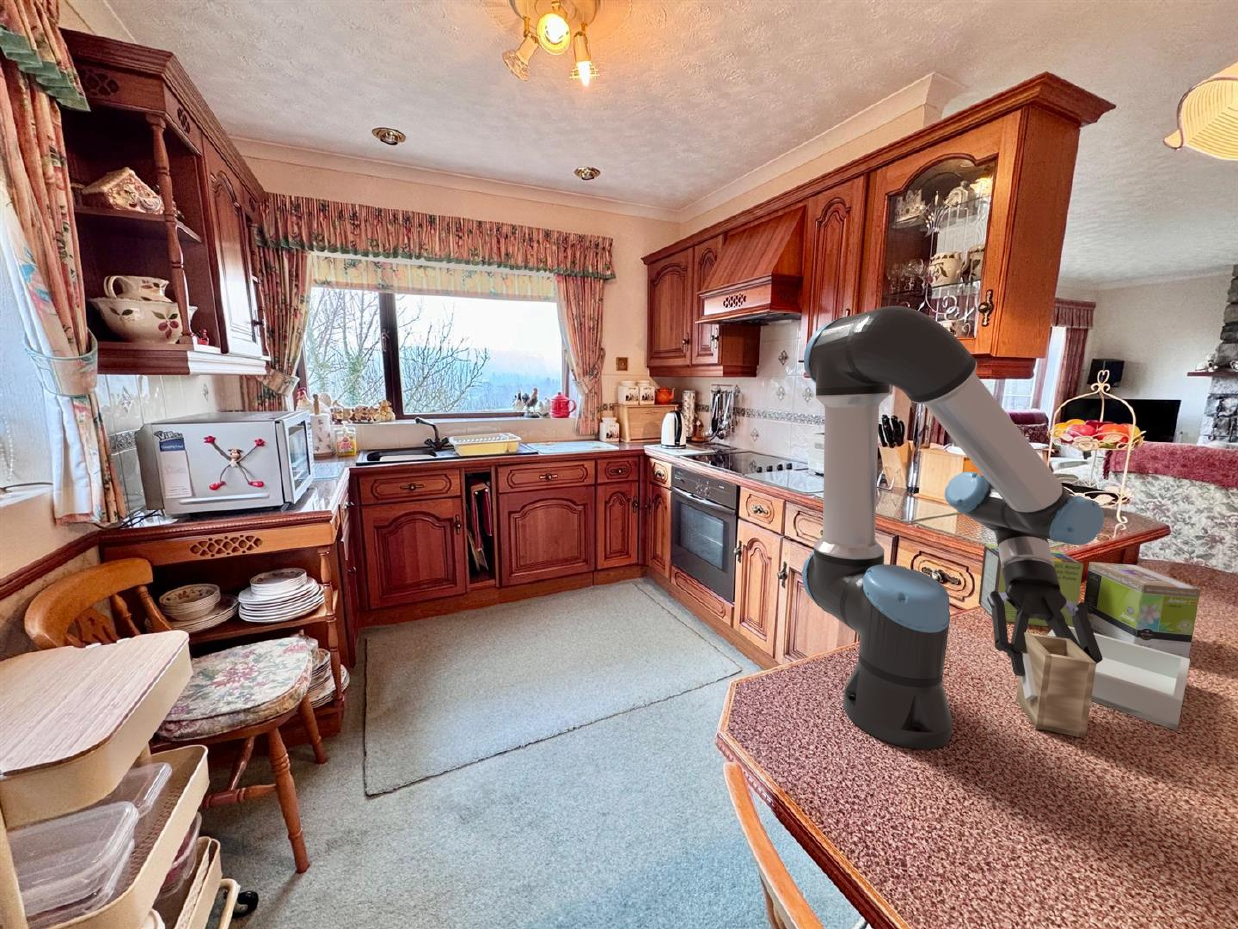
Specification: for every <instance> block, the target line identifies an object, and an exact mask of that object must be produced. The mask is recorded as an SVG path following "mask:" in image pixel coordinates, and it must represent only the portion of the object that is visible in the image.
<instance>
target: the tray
mask: <svg viewBox="0 0 1238 929" xmlns="http://www.w3.org/2000/svg"><path fill="white" fill-rule="evenodd" d="M1068 627H1069V628H1070V630H1071V631H1072V633H1073V635H1074V636H1075V638H1076V639H1077V641H1078V643H1079V640H1078V637H1077V634H1076V631H1075V628H1074V627H1070V626H1068ZM1093 633H1094V636H1095V638H1096V641H1097V644H1098V647H1099V649H1100V652H1101V655H1102V658H1103V660H1102V661H1101V662H1099V663H1098V664H1096V670H1095V677H1094V684H1093V691H1092V697H1091V701H1092V703H1096V704H1099V705H1102V706H1105V707H1107V708H1110V709H1113V710H1116V711H1119V712H1121V713H1124V714H1128V715H1130V716H1133V717H1136V718H1138V719H1142V720H1144V721H1147V722H1151V723H1153V724H1156V725H1158V726H1161V727H1163V728H1167V729H1169V730H1173V731H1176V732H1178V730H1179V723H1180V718H1181V711H1182V707H1183V704H1184V703H1183V701H1184V697H1185V691H1186V687H1187V679H1188V675H1189V669H1190V662H1191V658H1189V657H1188V658H1185V657H1181V656H1177V655H1174V654H1170V653H1166V652H1162V651H1159V650H1155V649H1151V648H1148V647H1144V646H1140V645H1137V644H1133V643H1129V642H1126V641H1122V640H1118V639H1114V638H1111V637H1107V636H1104V635H1103V634H1101V633H1095V632H1093ZM1046 636H1053V637H1057V636H1056V635H1055V633H1054V632H1053V630H1052V629H1051V630H1050V631H1049V632H1048V633H1047V634H1046ZM1079 644H1080V643H1079Z"/></svg>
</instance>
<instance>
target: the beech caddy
mask: <svg viewBox="0 0 1238 929" xmlns="http://www.w3.org/2000/svg"><path fill="white" fill-rule="evenodd" d="M1024 635H1025V641H1024V646H1023V650H1022V654H1023V653H1026V654H1029V658H1030V662H1031V667H1032V672H1033V677H1034V682H1035V687H1036V692H1037V696H1036V697H1035V698H1034V699H1032V700H1026V699H1025V696H1024V691H1023V686H1022V680H1021V676H1018V682H1017V689H1016V690H1017V691H1016V698H1015V700H1016V701H1017V703H1018V704H1019V705H1020V707H1021V708H1022V710H1023V711H1024V713H1025V714H1026V716H1027V717H1028V718H1029V720H1030V721H1031V723H1032V724H1033V726H1034V728H1035V729H1039V730H1044V731H1048V732H1054V733H1059V734H1064V735H1067V736H1073V737H1078V738H1082V739H1086V736H1087V731H1088V726H1089V724H1088V723H1089V717H1090V711H1091V708H1090V704H1091V697H1092V691H1093V684H1094V677H1095V670H1096V662H1095V661H1093V660H1092V659H1091V658H1090V657H1089V656H1088V655H1087V654H1086V653H1085V652H1084V651H1083V650H1081V649H1080V648H1079V647H1078V646H1077V645H1076V644H1075V643H1074V642H1073V641H1072V640H1071V639H1067V638H1060V637H1053V636H1047V634H1045V635H1044V634H1038V633H1033V632H1027V631H1026V632H1024Z"/></svg>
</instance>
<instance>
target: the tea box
mask: <svg viewBox="0 0 1238 929" xmlns="http://www.w3.org/2000/svg"><path fill="white" fill-rule="evenodd" d="M1088 562H1089V561H1088ZM1087 570H1088V571H1087V576H1086V584H1085V590H1084V597H1083V602H1084V603H1086V604H1087V605H1088V612H1087V617H1088V619H1089V622H1090V625H1091V628H1092V630H1094V631H1096V632H1098V634H1100V635H1103V636H1107V637H1111V638H1114V639H1118V640H1122V641H1126V642H1129V643H1133V644H1137V645H1140V646H1144V647H1148V648H1151V649H1155V650H1159V651H1162V652H1166V653H1170V654H1174V655H1177V656H1181V657H1185V658H1188V659H1189V656H1190V652H1191V647H1192V643H1193V636H1194V631H1195V626H1196V625H1195V624H1196V619H1197V614H1198V606H1199V602H1200V595H1201V588H1200V587H1197V586H1195V585H1192V584H1189V583H1187V582H1183V581H1181V580H1179V579H1175V578H1173V577H1171V576H1168V575H1165V574H1163V573H1160V572H1157V571H1155V570H1151V569H1149V568H1145V567H1143V566H1141V565H1138V564H1137V565H1135V564H1124V563H1123V564H1122V563H1112V562H1111V563H1110V562H1096V561H1090V562H1089V563H1088V568H1087Z"/></svg>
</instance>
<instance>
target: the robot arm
mask: <svg viewBox="0 0 1238 929" xmlns="http://www.w3.org/2000/svg"><path fill="white" fill-rule="evenodd" d="M805 346H806V347H805V349H804V355H803V365H804V369H805V372H806V374H807V376H809V378H810V379H811V380H812V381H813V382H814V383H815V398H816V399H817V400H818V401H819V402H820V403H821V404H822V405H823V406H824V431H823V432H824V438H823V439H824V440H823V441H824V443H823V444H824V447H823V449H824V450H823V498H822V501H823V502H822V503H823V508H822V514H823V515H822V536H821V537H820V538H819V539H817V540H816V541H815V542H814V544H813V551H812V552H810V554H808V555H809V558H806V559H805V561H804V563H803V566H802V572H801V579H802V585H803V588H804V590H805V593H806V594H807V596H808V597H809V598H810V599H811V600H812V601H813V602H814V603H815V604H816V605H817V606H818V607H819V608H821V609H822V610H823V611H824V612H825V613H827V614H828V615H831V616H833V617H834V618H836V619H837V620H839V622H841V623H843V624H844V625H845V626H847V627H848V628H850V629H851V630H852V631H854V632H856V634H858V635H859V643H858V644H859V646H858V659H857V663H856V665H855V667H854V669H853V672H852V673H851V675H850V677H849V680H848V682H847V684H846V685H845V688H844V690H843V700H842V701H843V702H842V705H843V709H844V712H845V713H846V716H848V719H850V720H851V722H853V723H854V724H855V725H856V726H858V727H859V728H860V729H862V730H863V732H866V733H867V734H870V735H871V736H873V737H875V738H877V739H879V740H882V741H884V742H887V743H889V744H892V745H896V746H898V747H903V748H908V749H916V750H933V749H937V748H941V747H943V746H945V745H947V744H948V743H949V742H950V740H951V738H952V732H953V722H954V721H953V717H952V713H951V708H950V707H949V706H950V705H949V703H948V699H947V695H946V692H945V687H944V685H943V684H944V683H943V680H944V670H945V662H946V653H947V644H948V636H949V629H950V622H951V611H950V601H951V600H950V596H949V593H948V591H947V589H946V588H945V586H944V585H943V584H942V583H941V582H939V581H938V580H937V579H935V578H933V576H930V575H928V574H927V573H924V572H922V571H920V570H917V569H914V568H913V569H909V568H907V566H903V565H896V564H887V563H886V564H885V548H884V547H883V546H882V545H881V544H880V543H879V542H878V541H877V540H876V523H877V522H876V519H877V518H876V516H877V515H876V514H877V484H878V483H877V482H878V481H877V480H878V457H879V456H878V453H879V452H878V448H879V445H878V444H879V424H880V423H879V421H880V420H879V417H880V416H879V415H880V405H881V403H883V402H884V400H885V399H887V398H888V397H889V396H890V394H891V392H890V391H891V386H893V387H894V388H898V389H899V390H900V391H902V392H903V393H904V394H905V395H906V397H907V398H908V399H909V400H910V401H911V402H912V403H914V404H919V405H922V404H923V405H924V407H925V408H926V409H927V410H928V411H929V413H930V414H931V415H932V416H933V417H934V418H935V419H936V421H937V422H938V423H939V425H941V427H942V428H943V429H944V430H945V431H946V433H947V435H948V436H950V437H951V439H952V440H953V441H954V442H955V444H956V445H957V446H958V447H959V448H960V449H961V451H962V452H963V453H964V454H965V455H966V456H967V458H968V459H969V461H970V462H971V463H972V464H973V465H974V466H975V468H976V469H978V471H979V472H980V473H977V472H975V471H964V472H960V473H959V474H957V475H955V476H954V477H952V478H951V479H950V481H949V482H948V484H947V485H946V487H945V489H944V498H945V501H946V502H947V504H948V505H950V506H951V507H952V508H954V509H955V510H956V511H957V512H958V513H961V514H963V515H964V516H967V517H968V518H970V519H972V520H973V521H975V522H977V523H978V524H980V525H982V526H984V527H985V528H987V529H988V530H991V531H992V532H993V533H994V534H995V539H996V543H997V546H998V550H999V555H1000V560H1001V566H1002V567H1003V570H1002V572H1003V577H1004V582H1005V587H1006V591H1005V592H1003V593H998V592H996V591H992V592H991V593H990V595H989V596H988V597H987V600H988V602H989V604H990V606H991V608H992V617H993V618H992V617H991V618H992V625H993V628H992V629H993V638H994V640H993V641H994V648H995V649H996V650H997V651H998V652H1004V653H1006V655H1007V657H1008V658H1010V661H1011V667H1012V672H1013V674H1014V675H1015V676H1018V677H1019V676H1021V680H1022V686H1023V691H1024V696H1025V699H1026V700H1032V699H1034V698H1035V697H1036V696H1037V692H1036V687H1035V682H1034V677H1033V672H1032V667H1031V662H1030V658H1029V654H1026V653H1023V654H1022V650H1023V646H1024V641H1025V635H1024V632H1026V633H1027V631H1028V625H1029V624H1028V621H1029V618H1038V619H1041V620H1045V621H1046V623H1047V625H1048V626H1049V628H1051V630H1053V632H1054V633H1055V635H1056V636H1057V637H1060V638H1067V639H1071V640H1072V641H1073V642H1074V643H1075V644H1076V645H1077V646H1078V647H1079V648H1080V649H1081V650H1083V651H1084V652H1085V653H1086V654H1087V655H1088V656H1089V657H1090V658H1091V659H1092V660H1093V661H1095V662H1096V664H1098V663H1099V662H1101V661H1102V660H1103V658H1102V655H1101V652H1100V649H1099V647H1098V644H1097V641H1096V638H1095V636H1094V633H1095V632H1094V631H1093V630H1094V629H1093V628H1091V625H1090V622H1089V619H1088V617H1087V612H1088V605H1087V604H1086V603H1084V601H1080V602H1078V604H1077V603H1074V602H1071V601H1068V600H1066V598H1065V597H1064V595H1063V594H1062V593H1061V591H1060V584H1059V580H1058V577H1057V573H1056V569H1055V568H1054V561H1053V557H1052V554H1051V550H1052V549H1051V546H1050V543H1049V540H1050V541H1051V542H1054V543H1058V542H1060V543H1064V544H1068V545H1074V546H1082V545H1083V546H1084V545H1087V544H1089V543H1091V542H1093V541H1094V540H1095V539H1096V538H1097V536H1098V535H1099V534H1100V533H1101V532H1102V529H1103V528H1104V524H1105V521H1104V520H1105V514H1104V511H1103V508H1102V506H1101V505H1100V504H1099V503H1097V502H1095V500H1092V499H1089V498H1086V497H1085V498H1084V497H1083V496H1080V495H1072V494H1070V493H1069V492H1068V491H1067V489H1066V487H1065V486H1063V484H1062V482H1060V480H1059V478H1057V476H1056V475H1055V474H1054V472H1053V471H1052V470H1051V469H1050V468H1049V466H1048V465H1047V464H1046V462H1045V461H1044V460H1043V458H1042V457H1041V456H1040V455H1039V453H1038V452H1037V451H1036V449H1035V448H1034V447H1033V445H1032V444H1031V443H1030V441H1028V439H1027V438H1026V437H1025V435H1024V434H1023V433H1022V432H1021V430H1020V429H1019V428H1018V426H1017V425H1016V424H1015V422H1014V421H1013V420H1012V418H1011V417H1010V416H1009V415H1008V413H1007V412H1006V411H1005V409H1003V406H1001V405H1000V403H999V402H998V400H996V398H995V397H994V396H993V394H992V393H991V391H990V390H989V389H988V388H987V387H986V385H985V384H984V383H983V381H982V380H981V379H980V377H979V376H978V375H977V373H976V371H977V368H978V362H977V360H976V358H974V356H973V355H972V353H971V352H970V351H969V350H968V349H967V348H966V346H965V345H964V344H963V343H962V341H961V340H959V339H958V338H957V337H956V335H954V334H953V333H952V332H951V331H950V330H949V329H947V328H946V327H945V326H944V325H942V324H941V323H940V322H938V321H937V320H935V319H934V318H933V317H931V316H929V315H928V314H926V313H924V312H921V311H920V310H917V309H914V308H911V307H906V306H902V305H901V306H900V305H888V306H883V307H878V308H875V309H873V310H870V311H869V310H868V311H865V312H859V313H857V314H851V315H846V316H843V317H839V318H836V319H834V320H832V321H831V322H828V323H826V324H824V325H822V326H821V327H819V328H818V329H817V330H816V331H815V332H814V333H813V334H812V336H810V338H809V339H808V342H807V344H806V345H805ZM1006 600H1007V601H1008V602H1009V603H1010V604H1011V605H1012V606H1013V607H1014V608H1015V609H1016V610H1017V612H1016V617H1015V622H1014V625H1013V629H1012V635H1011V640H1010V642H1009V636H1008V623H1007V621H1006V614H1005V606H1004V604H1005V603H1006ZM1063 607H1065V608H1066V609H1067V610H1068V614H1069V615H1070V616H1072V622H1073V626H1074V628H1075V631H1076V634H1077V637H1078V640H1079V643H1080V644H1079V643H1078V641H1077V639H1076V638H1075V636H1074V635H1073V633H1072V631H1071V630H1070V628H1069V627H1068V625H1067V624H1066V622H1065V617H1064V616H1063V614H1062V612H1061V609H1062V608H1063ZM1093 706H1094V705H1093V701H1091V704H1090V709H1091V708H1092V707H1093Z"/></svg>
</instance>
